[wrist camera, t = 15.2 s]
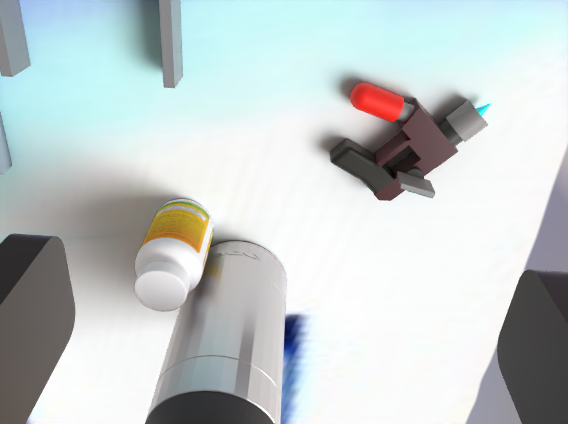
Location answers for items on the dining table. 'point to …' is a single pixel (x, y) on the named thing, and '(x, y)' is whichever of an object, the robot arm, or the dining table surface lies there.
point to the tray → (4, 150)
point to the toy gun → (405, 142)
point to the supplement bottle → (173, 254)
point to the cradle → (14, 53)
